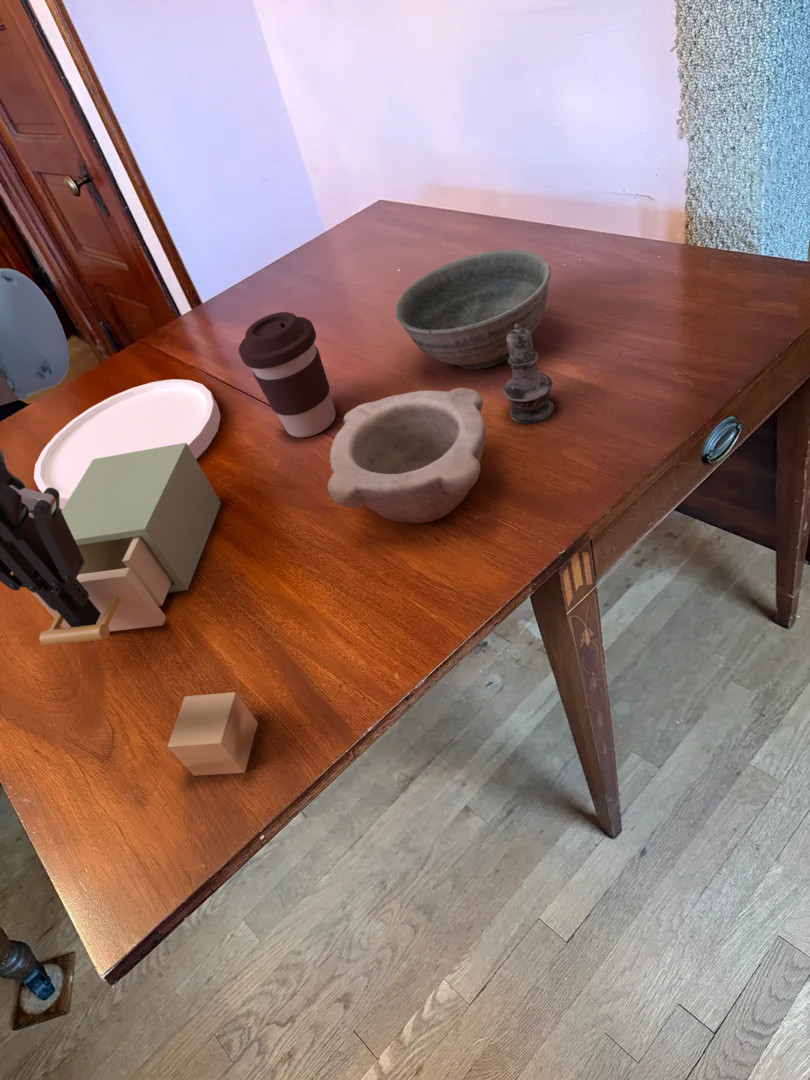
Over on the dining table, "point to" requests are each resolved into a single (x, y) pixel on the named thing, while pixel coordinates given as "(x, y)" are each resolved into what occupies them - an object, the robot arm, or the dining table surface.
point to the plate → (128, 430)
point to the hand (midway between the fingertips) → (89, 624)
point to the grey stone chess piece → (526, 380)
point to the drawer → (115, 591)
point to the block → (213, 734)
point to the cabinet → (147, 506)
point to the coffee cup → (290, 372)
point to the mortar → (409, 454)
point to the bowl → (475, 306)
